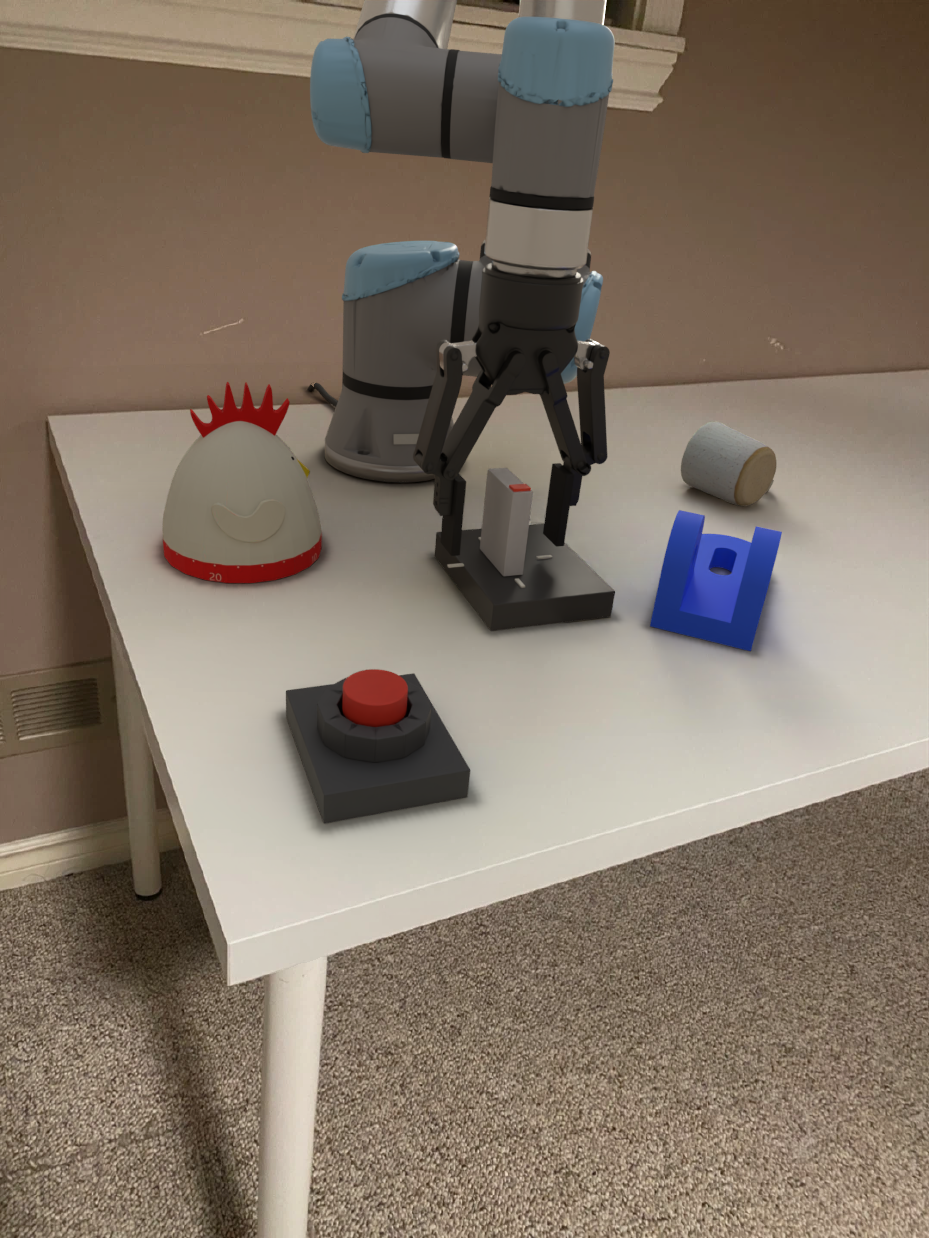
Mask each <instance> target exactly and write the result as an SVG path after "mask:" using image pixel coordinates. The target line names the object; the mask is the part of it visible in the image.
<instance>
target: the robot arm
mask: <svg viewBox="0 0 929 1238" xmlns="http://www.w3.org/2000/svg"><path fill="white" fill-rule="evenodd" d="M457 1H458V0H364V1H363V3H362V4H363V5H362V7H361V10H360V13H359V14H360V15H359V17H358V21H357V24H356V28H355V32H354V35H353V38H352V37H351V36H344V37H342V38H326V39H324V40H320V41H319V42H318V44H317V46H316V47H315V49H314V51H313V56H312V59H311V67H310V78H309V101H310V102H309V103H310V113H311V121H312V125H313V126H312V127H313V129H314V132H315V134H316V136H317V137H318V139H319V140H320V141H321V142H322V143H324V144H325V145H327V146H329V147H335V148H336V147H337V148H342V149H350V150H357V151H360V152H361V153H363V154H369V153H375V154H376V153H377V154H378V153H379V154H388V155H389V154H390V155H401V156H402V155H403V156H417V157H427V158H428V157H430V158H443V159H448V160H455V161H464V162H465V161H466V162H475V163H476V162H477V163H486V164H492V166H491V167H492V168H491V185H490V188H489V198H488V204H487V205H488V206H487V215H486V216H487V217H486V227H485V228H486V229H485V237H484V240H482V241H481V243H480V251H479V260H464V259H460V252H459V247H458V246H457V244H455V243H453V242H449V241H438V240H403V241H394V242H383V243H378V244H371V245H368V246H365V247H361V248H359V249H357V250H355V251H354V252H353V253H351V254H350V256H349V257H348V258H347V260H346V263H345V269H344V283H343V292H342V294H341V301H343V309H342V311H343V312H342V313H343V314H342V317H343V319H342V377H341V378H342V379H341V392H340V394H339V396H338V399H337V398H335V397H333V396H332V395H330V393H328V392H327V390H326V389H325V388H324V387H323V385H321V384H320V383H318V382H316V383H315V384H314V387H313V386H312V385H311V384H312V383H310V384H309V385H308V388H307V390H306V391H308V392H314V391H315V390H316V391H317V392H318V393H319V394H320V396H321V397H322V398H323V399H324V400H325V401H326V402H328V403H329V404H331V405H332V406H333V407H335V408H334V411H333V414H332V417H331V420H330V423H329V426H328V429H327V432H326V435H325V437H324V458H325V461H326V462H327V464H329V465H330V466H331V467H333V468H334V469H335V470H338V471H339V472H342V473H344V474H346V475H349V476H353V477H357V478H360V479H364V480H369V481H374V482H375V481H376V482H385V483H419V482H426V481H431V480H434V484H433V498H432V499H433V500H432V505H433V508H434V510H435V512H437V513H438V515H439V516H440V517H441V529H440V532H441V541H440V542H441V544H442V545H443V546H444V547H445V549H446V550H447V551H448V553H449V554H450V555H451V556H457V555H460V547H461V536H462V530H463V522H464V512H465V502H466V488H467V480H466V479H465V478H464V477H463V476H462V475H461V474H460V472H461V470H462V468H463V466H464V465H465V463H466V461H467V460H468V458H469V456H470V454H471V452H472V450H473V449H474V448H475V446H476V443H477V442H478V440H479V438H480V436H481V434H482V432H484V429H485V428H486V426H487V424H488V422H489V420H490V419H491V417H492V415H493V413H494V412H495V410H496V408H497V407H499V406H501V405H502V403H503V401H504V400H505V399H506V396H517V395H521V394H523V393H527V394H532V395H539V396H540V399H541V402H542V405H543V408H544V411H545V414H546V416H547V417H546V418H547V420H548V423H549V426H550V428H551V431H552V435H553V437H554V440H555V443H556V446H557V449H558V452H559V455H560V458H561V460H562V462H563V464H562V463H560V462H557V463H551V471H550V478H549V486H548V492H547V500H546V507H545V508H546V509H545V515H544V521H543V522H544V529H543V534H544V535H545V536H546V537H547V538H548V539H549V540H550V541H551V542H552V543H553V544H554V545H555V546H556V547H557V546H564V542H565V543H566V534H567V527H568V521H569V514H570V508H571V507H577V504H578V502H579V500H580V495H581V488H582V481H583V477H586V476H588V475H590V474H591V471H592V465H594V464H597V465H602V464H605V462H606V461H607V459H608V437H607V436H608V435H607V416H606V415H607V413H606V395H605V392H606V391H605V373H606V369H607V366H608V362H609V359H610V349H609V347H608V346H606V345H604V344H602V343H600V342H599V341H597V340H595V339H593V338H591V337H592V333H593V329H594V325H595V321H596V317H597V313H598V309H599V304H600V300H601V295H602V287H603V285H604V277H603V275H602V274H601V273H598V271H596V270H592V271H591V264H592V252H591V249H589V246H590V245H589V244H590V237H591V229H592V220H593V213H594V204H595V190H596V185H597V179H598V174H599V173H598V172H599V165H600V159H601V153H602V146H603V139H604V134H605V133H604V132H605V126H606V119H607V113H608V107H609V106H608V105H609V98H610V93H611V92H612V90H613V84H614V78H613V75H614V74H613V65H614V54H615V44H616V43H615V41H616V40H615V36H614V33H613V32H612V30H611V29H610V27H608V26H606V25H604V24H605V14H606V6H607V0H519V9H518V10H519V11H518V17H516V18H514V19H512V20H511V21H510V22H509V23H508V24H507V26H506V28H505V31H504V35H503V43H502V50H501V53H494V52H493V53H491V52H481V51H480V52H479V51H468V50H460V49H453V48H451V49H450V48H448V47H449V43H450V37H451V33H452V27H453V24H454V23H453V22H454V17H455V12H456V8H457V3H458V2H457ZM463 376H464V377H474V378H475V377H476V378H475V380H474V381H473V384H472V386H471V388H472V389H471V393H470V395H469V397H468V398H467V400H466V402H465V404H464V406H463V407H462V409H461V411H460V413H459V414H458V416H457V419H456V420H455V422H454V419H453V414H454V413H455V412H454V411H455V408H456V404H457V401H458V398H459V394H460V391H461V387H462V383H463V382H462V381H463ZM575 379H576V386H577V400H578V416H579V417H578V418H579V433H580V435H579V433H578V430H577V427H576V424H575V421H574V418H573V415H572V411H571V409H570V405H569V401H568V399H567V398H568V393H567V390H566V389H567V388H566V386H565V385H566V384H569V383H571V382H572V381H574V380H575Z"/></svg>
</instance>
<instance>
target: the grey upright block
mask: <svg viewBox="0 0 929 1238" xmlns="http://www.w3.org/2000/svg"><path fill="white" fill-rule="evenodd" d="M533 497H534V491H533V490H532V487H531V486H529V485H528V484H527V483H525V482H523V481H522V480H521V478H519V477H518V476H517V475H515V473H513V471H511V470H510V469H509V468H508V467H491V468H487V473H486V481H485V492H484V501H483V510H482V512H483V513H482V522H481V528H482V531H481V541H480V550H481V551H482V552H483V553H484V554H485V555H486V557H487V558H488V559H489V560H490V561H491V562H492V564H493V565H494V566H495V567H496V568H497V570H498V571H499V572H500V573H501V574H502V575H503V576H514V575H523V568H524V560H525V552H526V545H527V537H528V529H529V525H530V522H531V512H532V505H533V504H532V503H533Z"/></svg>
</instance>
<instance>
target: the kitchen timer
mask: <svg viewBox="0 0 929 1238" xmlns="http://www.w3.org/2000/svg"><path fill="white" fill-rule="evenodd" d="M224 388H225V389H224V398H223V407H222V409H221V408H220V407H219V406H218V405H217V403H216V402H215V401H214V399H213V398H212V397H211V395H209V394H207V395H206V401H207V405H208V408H209V412H210V414H211V421H210V422H204V421H202V419H200V417H199V416H198V415H197V413H196V412H195V411H194V410H193V409H192V408H190V409H189V413H190V417H191V420H192V422H193V424H194V426H195V427H196V430H197V431H198V433H199V434H200V435H199V436H198V437H197V438H196V439H195V441H194V442H193V443H192V444H191V445H190V447H189V448H188V450H187V451H186V452H185V453H184V455H183V456H182V458H181V460H180V461H179V463H178V464H177V467H176V469H175V471H174V474H173V476H172V479H171V482H170V486H169V489H168V493H167V497H166V501H165V505H164V510H163V516H162V527H161V530H162V546H163V556H164V558H165V560H166V561H167V562H168V563H169V565H170V566H171V567H173V568H174V569H176V570H177V571H179V572H181V573H183V574H185V575H187V576H191V577H194V578H197V579H200V580H204V581H211V582H217V583H225V584H254V583H265V582H271V581H276V580H279V579H280V580H281V579H284V578H286V577H290V576H294V575H297V574H299V573H301V572H302V571H305V570H306V569H308V568H311V566H312V565H313V564H314V563H315V562H316V561H317V560H318V559H320V556H321V552H322V548H323V547H322V543H323V541H322V539H323V538H322V537H323V536H322V535H323V534H322V533H323V532H322V524H321V523H322V522H321V517H320V513H319V510H318V506H317V503H316V500H315V497H314V494H313V491H312V488H311V485H310V482H309V480H308V478H309V476H310V473H311V471H310V469H309V468H308V467H307V466H306V465H304V463H302V462H301V461H300V460H299V459H298V458H297V456H296V455H295V453H294V452H293V451H292V449H291V447H290V446H288V444H287V443H286V442H285V441H284V440H283V439H282V438H281V437H280V436H278V435H277V433H278V432H279V429H280V427H281V425H282V423H283V422H284V419H285V418H286V415H287V413H288V410H289V407H290V400H289V398H286V399H285V400H284V401H283V402H282V404H281V405H280V406H279V407H278V408H277V409H274V397H273V389H272V386H271V384H270V383H268V384H267V386H266V389H265V390H264V391H265V392H264V395H263V398H262V400H261V404H260V406H259V407H258V408H257V407H255V405H254V401H253V397H252V393H251V390H250V387H249V385H248V382H247V381H245V382H244V386H243V394H242V401H241V406H240V407H237V405H236V402H235V397H234V394H233V390H232V388H231V384H230V383H229V381H227V382H226V383H225V387H224Z"/></svg>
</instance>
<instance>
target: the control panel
mask: <svg viewBox="0 0 929 1238" xmlns="http://www.w3.org/2000/svg"><path fill="white" fill-rule="evenodd" d="M543 529H544V523H532V524H529V529H528V537H527V545H526V552H525V560H524V568H523V575H514V576H503V575H502V574H501V573H500V572H499V571H498V570H497V568H496V567H495V566H494V565H493V564H492V562H491V561H490V560H489V559H488V558H487V557H486V555H485V554H484V553H483V552H482V551H481V550H480V541H481V531H482V527H481V528H469V529H462V536H461V547H460V555H457V556H451V555H450V554H449V553H448V551H447V550H446V549H445V547H444V546H443V545H442V544H441V542H440V541H441V531H436V532H435V543H434V555H433V557H434V558H435V559H436V561H437V562H438V564H440V566H441V567H442V568H443V570H444V571H445V573H446V574H447V575H448V576H449V578H450V579H451V581H452V582H453V583H454V584H455V586H456V587H457V589H458V590H459V591H460V592H461V593H462V595H463V596H464V597H465V599H466V601H468V603H469V604H470V606H471V607H472V608H473V610H474V611H475V612H476V614H477V615H478V616H479V617H480V619H481V620H482V622H483V623H484V624H485V625H486V627H487V628H488V629H489V631H490V632H495V631H503V630H513V629H521V628H528V627H529V628H531V627H537V626H545V625H546V626H547V625H554V624H561V623H563V624H564V623H565V624H566V623H573V622H581V621H589V620H597V619H607V618H611V617H612V611H613V607H614V601H615V596H616V590H615V589H613V587H612V586H611V585H610V584H608V583H607V582H606V581H605V580H604V578H602V577H601V576H600V575H599V573H597V572H596V571H595V570H594V569H593V568H592V567H591V566H589V564H588V563H587V562H586V561H585V560H584V559H583V558H581V557H580V555H579V554H578V553H577V552H575V550H573V549H572V548H571V547H570V546H569V545H568V544H567V543H566V541H565V542H564V546H557V547H556V546H555V545H554V544H553V543H552V542H551V541H550V540H549V539H548V538H547V537H546V536H545V535H544V534H543Z"/></svg>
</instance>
